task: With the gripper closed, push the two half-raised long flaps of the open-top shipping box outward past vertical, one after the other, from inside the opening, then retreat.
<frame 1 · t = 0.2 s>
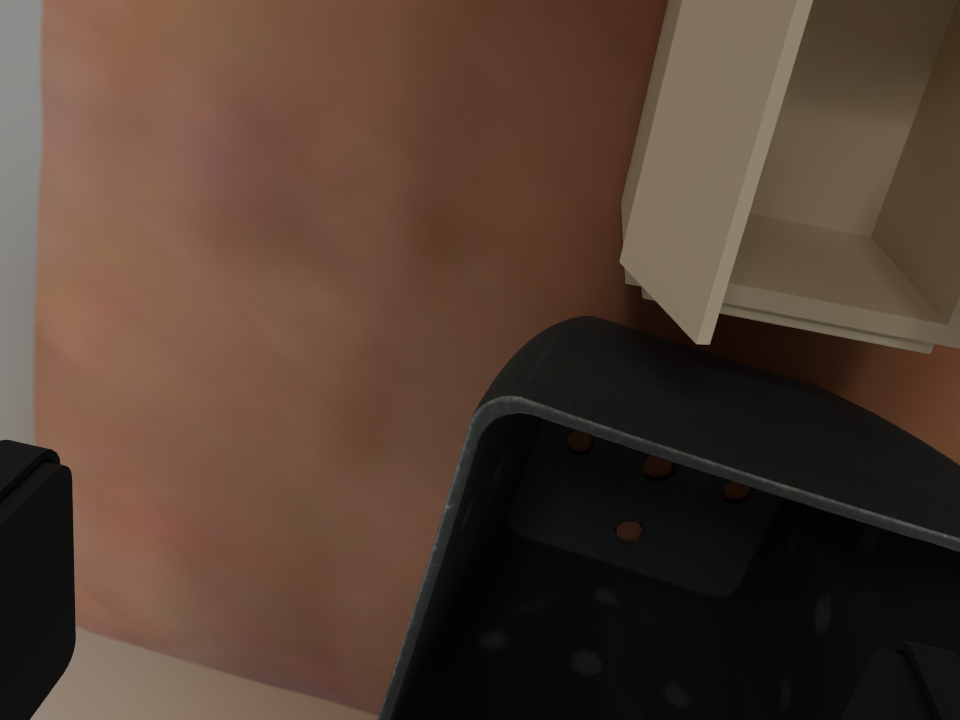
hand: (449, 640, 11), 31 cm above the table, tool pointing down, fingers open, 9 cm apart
shipping box: (800, 56, 36), on the table
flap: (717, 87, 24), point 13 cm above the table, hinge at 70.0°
flower pot: (656, 455, 44), on the table
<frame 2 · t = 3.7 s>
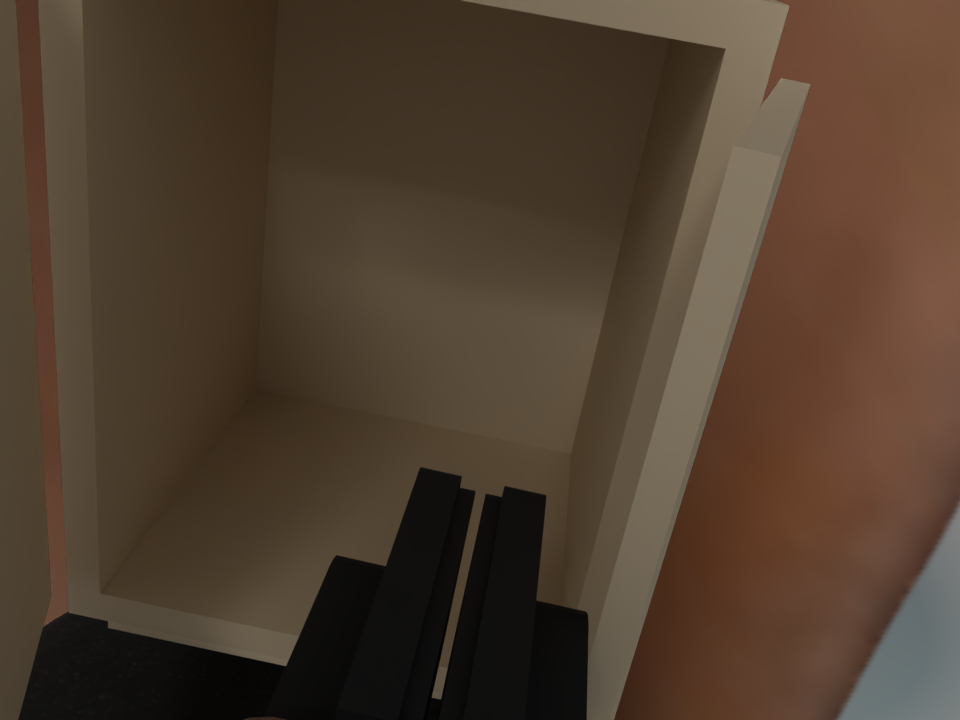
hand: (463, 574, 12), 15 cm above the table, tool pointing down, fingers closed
shipping box: (445, 213, 25), on the table
flower pot: (346, 701, 34), on the table
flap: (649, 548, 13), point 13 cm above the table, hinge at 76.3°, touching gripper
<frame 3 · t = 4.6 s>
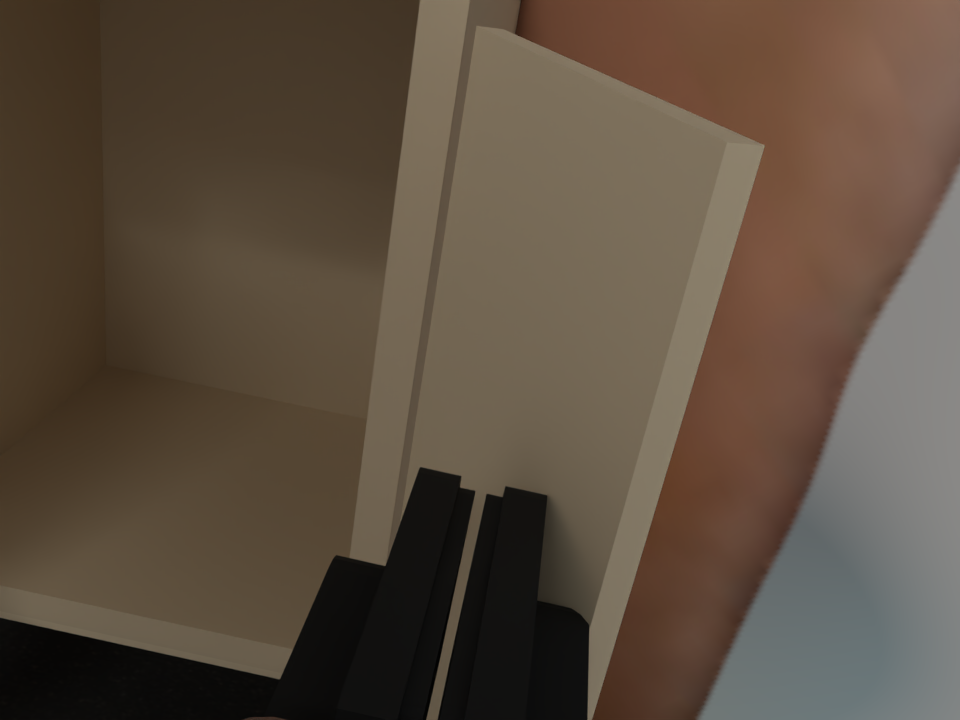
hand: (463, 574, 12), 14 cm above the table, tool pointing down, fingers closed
shipping box: (283, 185, 25), on the table
flower pot: (223, 683, 33), on the table
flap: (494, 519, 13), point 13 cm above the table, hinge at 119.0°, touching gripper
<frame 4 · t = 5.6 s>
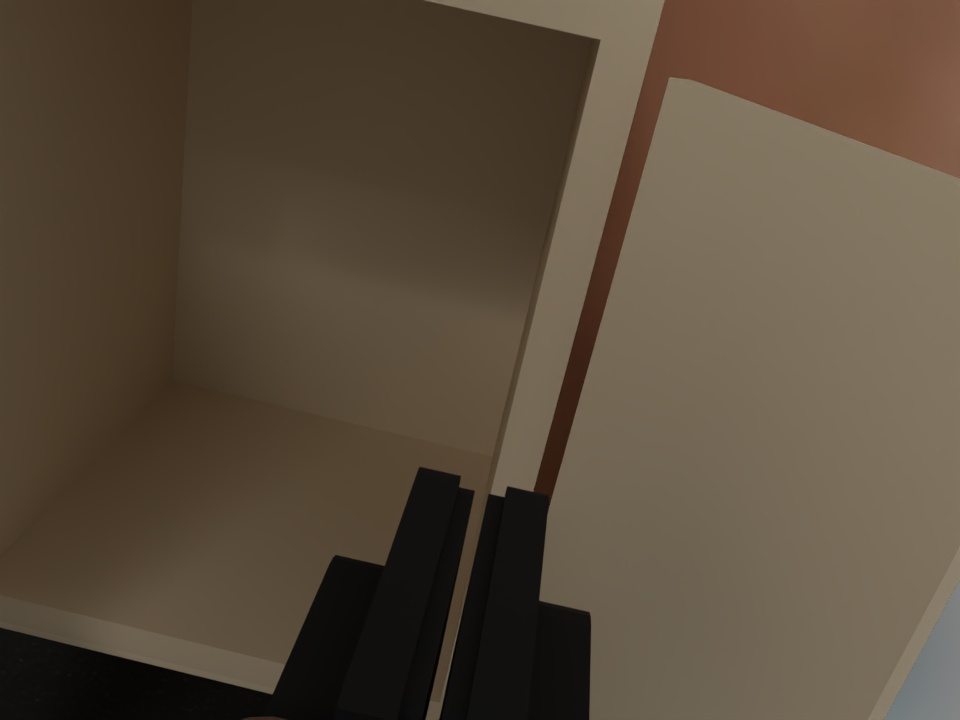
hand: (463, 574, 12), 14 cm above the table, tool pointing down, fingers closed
shipping box: (366, 205, 24), on the table
flower pot: (267, 702, 33), on the table
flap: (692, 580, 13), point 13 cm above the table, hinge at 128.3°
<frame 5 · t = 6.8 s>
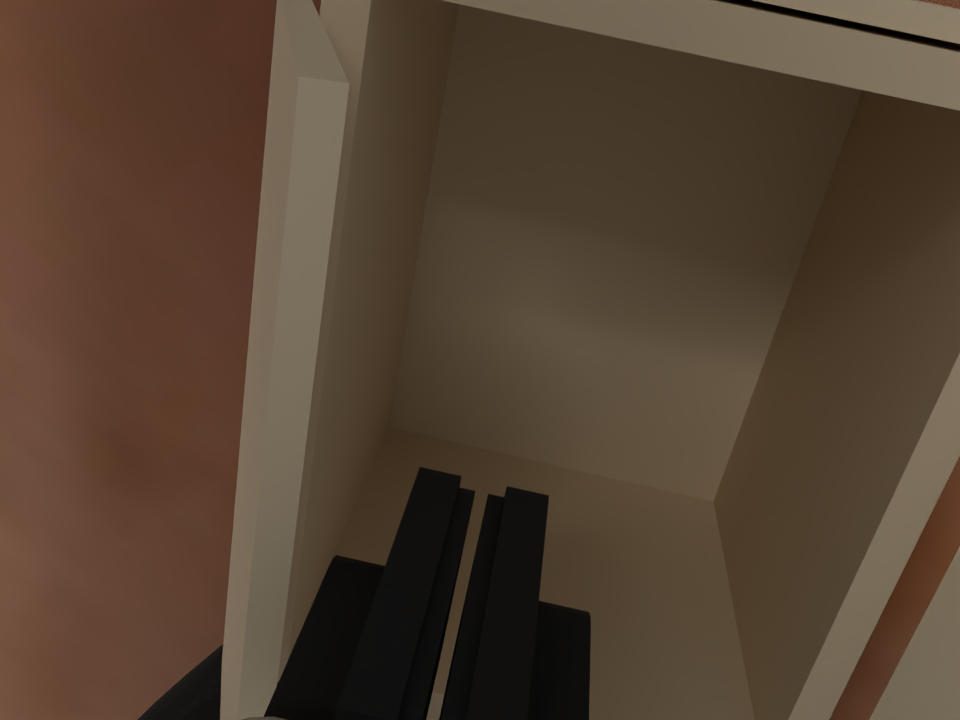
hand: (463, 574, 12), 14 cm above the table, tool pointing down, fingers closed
shipping box: (603, 254, 24), on the table
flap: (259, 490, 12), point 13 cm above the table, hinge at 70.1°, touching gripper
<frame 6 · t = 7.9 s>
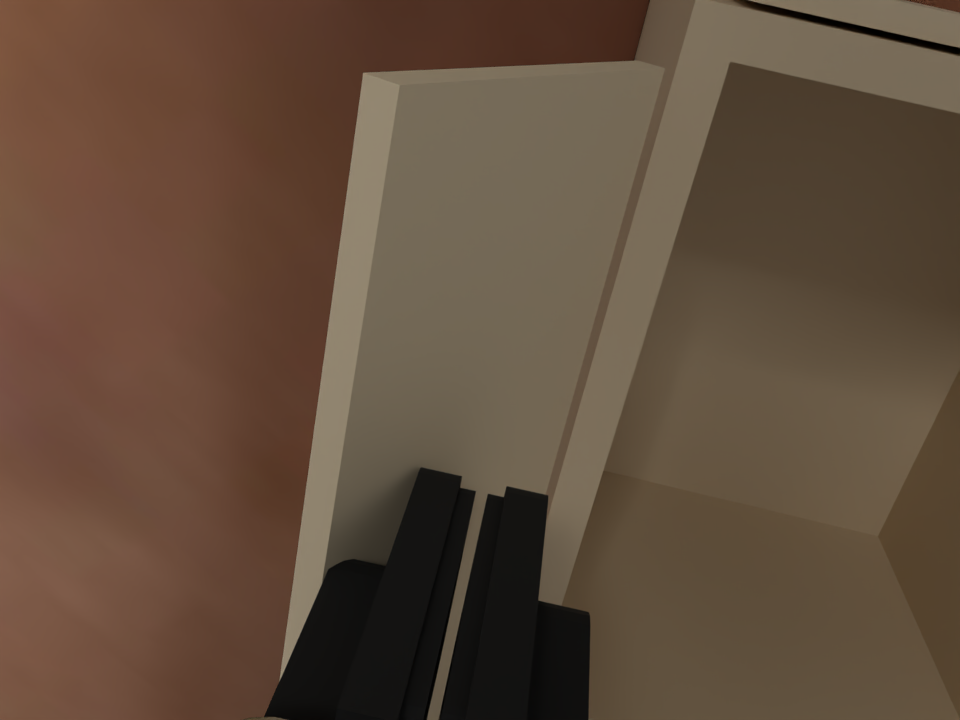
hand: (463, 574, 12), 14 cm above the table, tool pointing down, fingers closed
shipping box: (786, 293, 24), on the table
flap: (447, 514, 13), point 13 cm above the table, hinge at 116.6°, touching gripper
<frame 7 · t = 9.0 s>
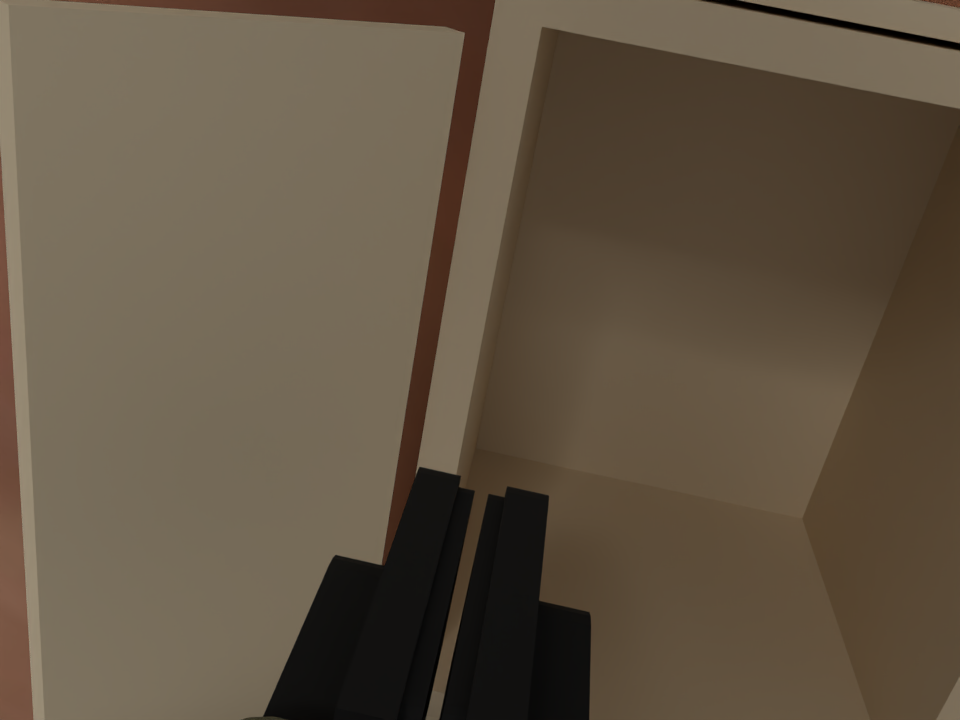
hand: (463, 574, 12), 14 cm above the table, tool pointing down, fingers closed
shipping box: (695, 274, 24), on the table
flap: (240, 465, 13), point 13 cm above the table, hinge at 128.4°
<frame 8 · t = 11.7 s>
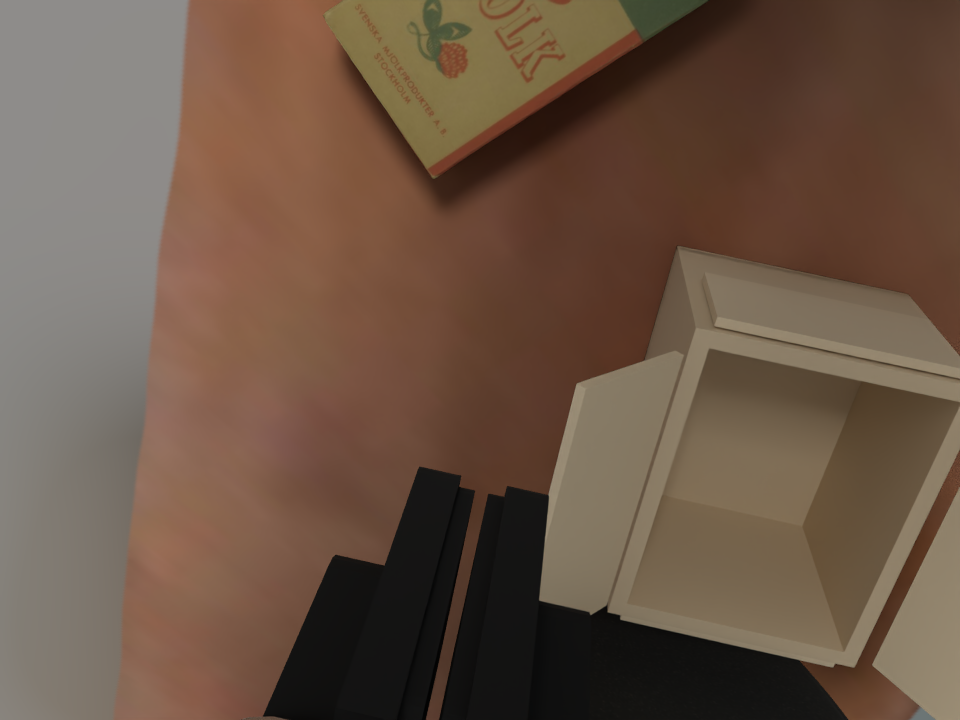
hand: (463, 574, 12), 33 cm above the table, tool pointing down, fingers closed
shipping box: (747, 398, 46), on the table
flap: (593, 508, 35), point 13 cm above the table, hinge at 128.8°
flower pot: (633, 667, 55), on the table
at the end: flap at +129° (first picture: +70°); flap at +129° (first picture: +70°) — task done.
